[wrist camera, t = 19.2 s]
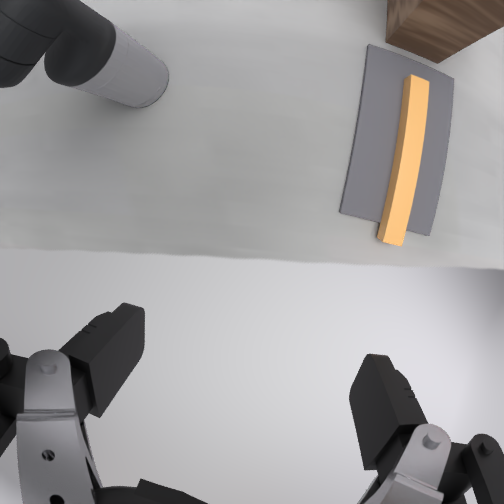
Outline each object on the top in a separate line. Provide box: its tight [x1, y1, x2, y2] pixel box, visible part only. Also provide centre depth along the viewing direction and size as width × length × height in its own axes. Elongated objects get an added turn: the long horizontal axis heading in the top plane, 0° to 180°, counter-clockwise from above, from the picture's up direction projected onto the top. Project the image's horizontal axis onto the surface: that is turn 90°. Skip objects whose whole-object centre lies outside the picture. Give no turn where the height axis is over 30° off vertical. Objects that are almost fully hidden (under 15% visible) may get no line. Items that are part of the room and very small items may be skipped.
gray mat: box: [339, 44, 454, 236], centre depth 39 cm, size 28×16×1 cm, turn 170°
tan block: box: [377, 74, 429, 246], centre depth 38 cm, size 26×3×3 cm, turn 170°
